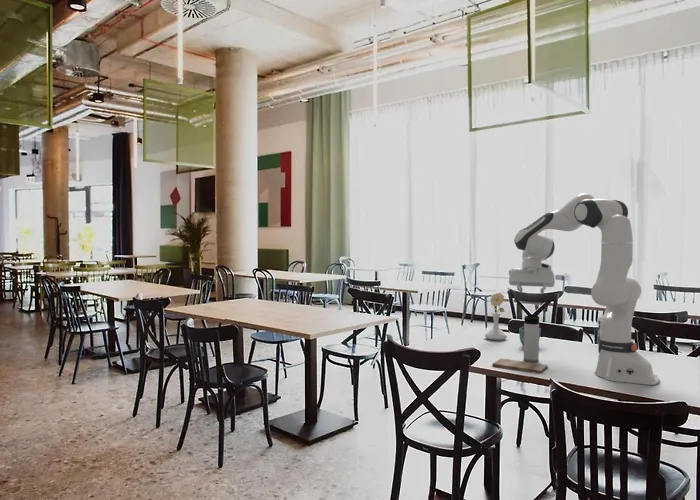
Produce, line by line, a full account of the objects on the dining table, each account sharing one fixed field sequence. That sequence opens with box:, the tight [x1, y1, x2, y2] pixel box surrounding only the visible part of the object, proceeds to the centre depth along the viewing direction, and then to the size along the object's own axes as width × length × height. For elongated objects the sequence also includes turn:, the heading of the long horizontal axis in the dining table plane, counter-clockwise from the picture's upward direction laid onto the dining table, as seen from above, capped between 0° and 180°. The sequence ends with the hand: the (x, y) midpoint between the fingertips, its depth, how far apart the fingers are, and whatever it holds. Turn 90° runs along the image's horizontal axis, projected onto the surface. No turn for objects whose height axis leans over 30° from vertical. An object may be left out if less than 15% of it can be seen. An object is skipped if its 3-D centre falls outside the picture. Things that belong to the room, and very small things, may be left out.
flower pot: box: [518, 326, 542, 347], centre depth 262 cm, size 9×9×9 cm
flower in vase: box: [484, 292, 508, 341], centre depth 278 cm, size 13×11×25 cm
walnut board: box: [491, 357, 549, 374], centre depth 224 cm, size 20×11×1 cm, turn 57°
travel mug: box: [523, 314, 540, 363], centre depth 234 cm, size 6×7×20 cm
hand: (531, 292), depth 245 cm, fingers open, 8 cm apart
